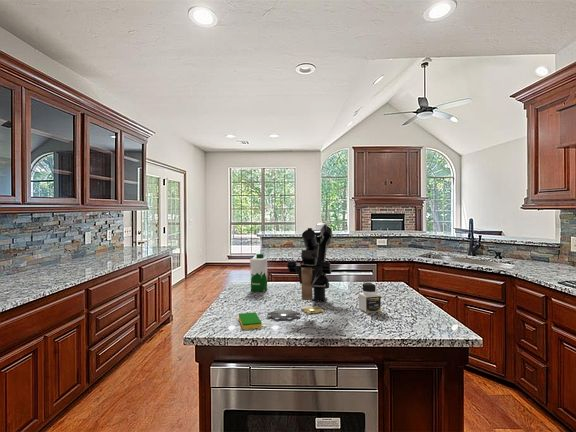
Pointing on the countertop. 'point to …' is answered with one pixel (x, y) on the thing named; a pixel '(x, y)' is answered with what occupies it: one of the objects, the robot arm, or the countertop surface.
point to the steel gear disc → (283, 315)
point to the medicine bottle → (369, 298)
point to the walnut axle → (307, 283)
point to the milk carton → (258, 273)
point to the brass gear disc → (312, 310)
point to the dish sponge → (250, 320)
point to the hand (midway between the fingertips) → (306, 284)
